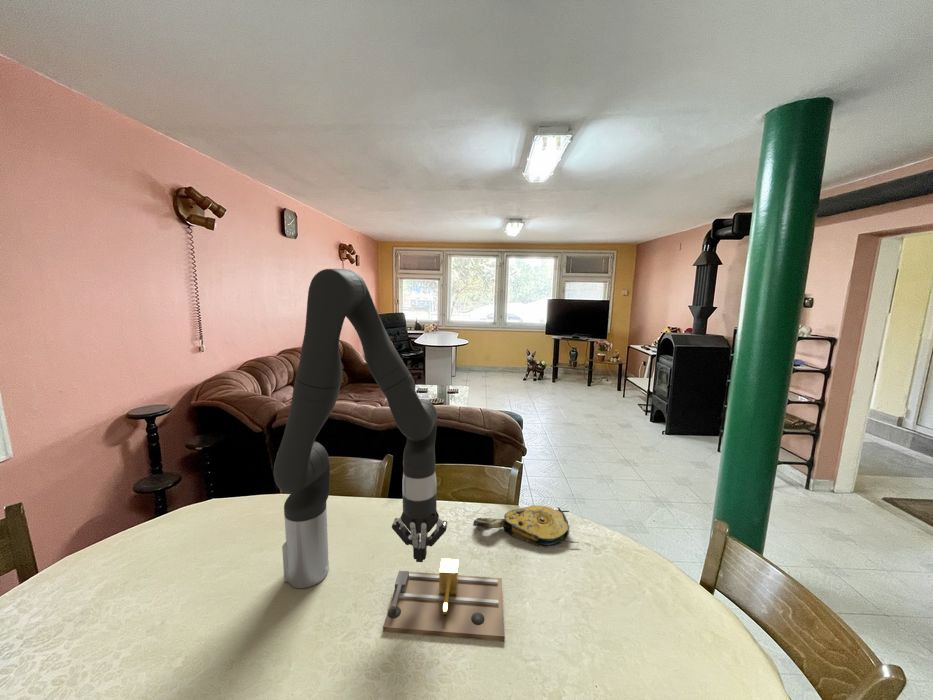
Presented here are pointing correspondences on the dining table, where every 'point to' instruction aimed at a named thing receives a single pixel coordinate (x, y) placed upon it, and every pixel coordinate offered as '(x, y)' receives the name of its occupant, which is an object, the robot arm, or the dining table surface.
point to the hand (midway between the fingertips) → (420, 559)
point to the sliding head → (448, 580)
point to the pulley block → (532, 525)
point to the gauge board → (466, 613)
